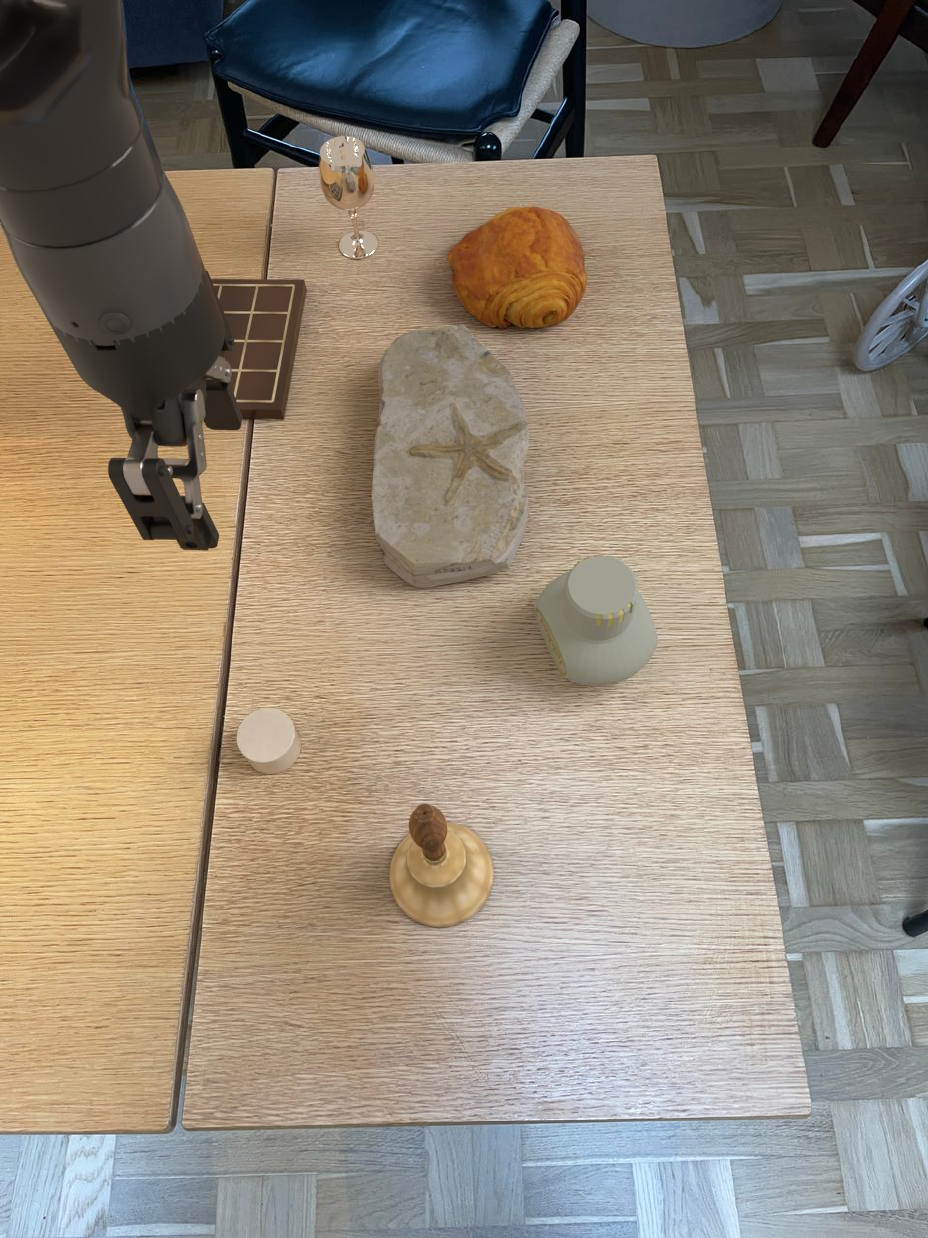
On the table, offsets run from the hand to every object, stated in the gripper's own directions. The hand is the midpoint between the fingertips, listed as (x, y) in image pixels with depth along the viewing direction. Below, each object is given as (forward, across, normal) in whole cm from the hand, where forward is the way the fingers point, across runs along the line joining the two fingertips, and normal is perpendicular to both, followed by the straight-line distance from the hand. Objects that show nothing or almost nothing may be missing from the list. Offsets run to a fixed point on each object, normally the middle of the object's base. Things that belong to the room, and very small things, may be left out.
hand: (214, 482), depth 59 cm
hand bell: (+31, +16, +13) cm, 37 cm away
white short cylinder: (+30, +6, -2) cm, 31 cm away
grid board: (+30, -38, -15) cm, 51 cm away
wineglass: (+31, -54, -1) cm, 62 cm away
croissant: (+31, -48, +17) cm, 60 cm away
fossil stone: (+31, -24, +11) cm, 41 cm away
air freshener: (+31, -5, +25) cm, 40 cm away
